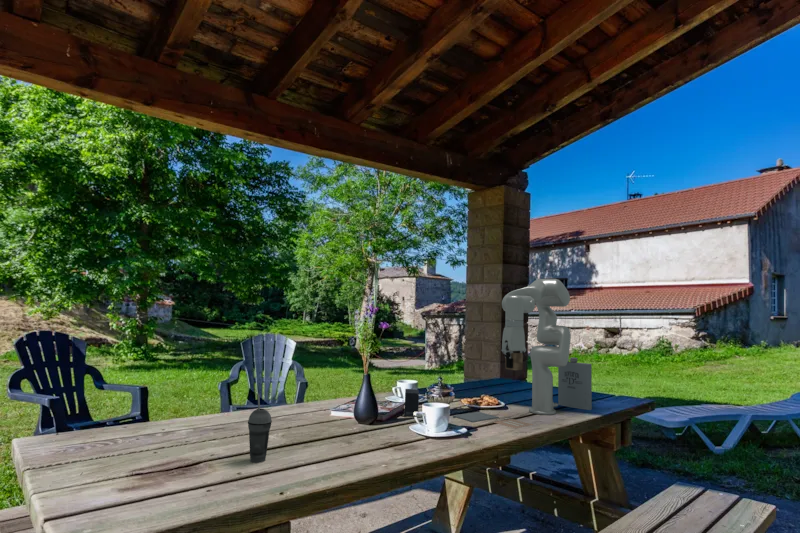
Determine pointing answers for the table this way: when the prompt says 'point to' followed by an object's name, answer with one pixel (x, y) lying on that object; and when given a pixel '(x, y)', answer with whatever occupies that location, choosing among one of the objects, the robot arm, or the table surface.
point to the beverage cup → (259, 433)
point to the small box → (411, 401)
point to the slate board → (475, 416)
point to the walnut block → (517, 361)
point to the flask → (575, 385)
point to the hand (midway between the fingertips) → (513, 367)
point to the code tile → (513, 423)
